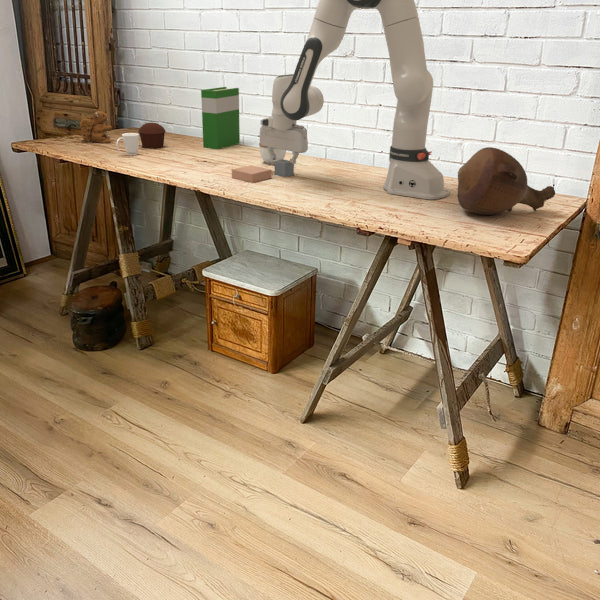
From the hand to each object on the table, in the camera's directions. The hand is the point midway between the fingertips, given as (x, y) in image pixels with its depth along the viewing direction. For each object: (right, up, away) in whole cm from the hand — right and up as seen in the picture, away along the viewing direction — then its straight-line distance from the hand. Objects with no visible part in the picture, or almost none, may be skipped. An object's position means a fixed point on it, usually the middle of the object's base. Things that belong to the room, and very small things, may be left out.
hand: (282, 161), depth 226 cm
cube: (0, -4, +2) cm, 5 cm away
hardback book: (-29, +19, +52) cm, 62 cm away
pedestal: (-11, -7, -4) cm, 13 cm away
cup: (-64, +9, +28) cm, 70 cm away
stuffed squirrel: (-85, +21, +53) cm, 102 cm away
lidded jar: (-5, +4, +21) cm, 22 cm away
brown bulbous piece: (+67, -24, -37) cm, 80 cm away
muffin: (-58, +16, +45) cm, 75 cm away
